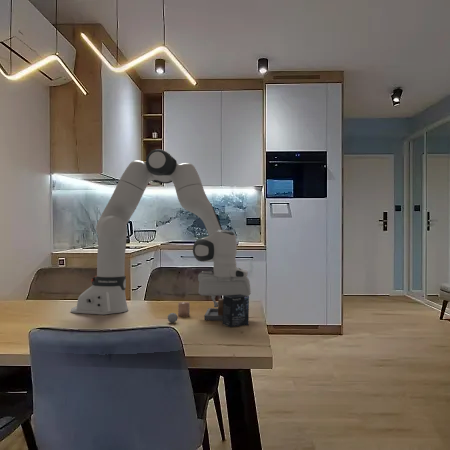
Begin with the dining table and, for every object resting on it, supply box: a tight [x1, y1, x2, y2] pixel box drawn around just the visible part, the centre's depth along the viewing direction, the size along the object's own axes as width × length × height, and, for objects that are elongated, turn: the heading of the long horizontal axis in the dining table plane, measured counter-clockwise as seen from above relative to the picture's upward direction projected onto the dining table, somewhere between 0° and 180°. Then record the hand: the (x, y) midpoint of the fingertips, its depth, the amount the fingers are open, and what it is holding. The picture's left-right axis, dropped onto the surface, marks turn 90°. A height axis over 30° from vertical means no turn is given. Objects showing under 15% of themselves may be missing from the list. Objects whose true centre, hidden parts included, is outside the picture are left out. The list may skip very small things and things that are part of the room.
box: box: [222, 294, 250, 328], centre depth 186 cm, size 8×6×11 cm
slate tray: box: [203, 307, 223, 322], centre depth 201 cm, size 14×16×2 cm
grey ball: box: [167, 312, 179, 324], centre depth 188 cm, size 4×4×4 cm
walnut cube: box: [217, 298, 223, 315], centre depth 201 cm, size 4×4×6 cm
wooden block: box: [177, 301, 191, 317], centre depth 203 cm, size 4×4×5 cm
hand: (224, 307), depth 201 cm, fingers open, 5 cm apart
